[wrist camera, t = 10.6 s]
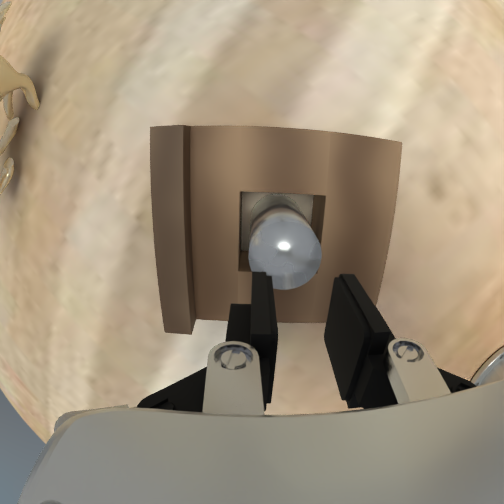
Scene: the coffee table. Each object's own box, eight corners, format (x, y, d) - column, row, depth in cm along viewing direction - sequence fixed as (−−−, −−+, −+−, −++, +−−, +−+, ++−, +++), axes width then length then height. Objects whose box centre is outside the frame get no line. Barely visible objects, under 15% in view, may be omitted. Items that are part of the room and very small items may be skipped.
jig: (379, 140, 21) (416, 143, 16) (357, 297, 26) (379, 335, 21) (175, 128, 21) (150, 126, 16) (181, 292, 26) (164, 332, 21)
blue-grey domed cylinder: (303, 194, 23) (325, 223, 16) (299, 243, 24) (317, 290, 17) (251, 192, 23) (249, 219, 16) (250, 241, 24) (247, 288, 17)
